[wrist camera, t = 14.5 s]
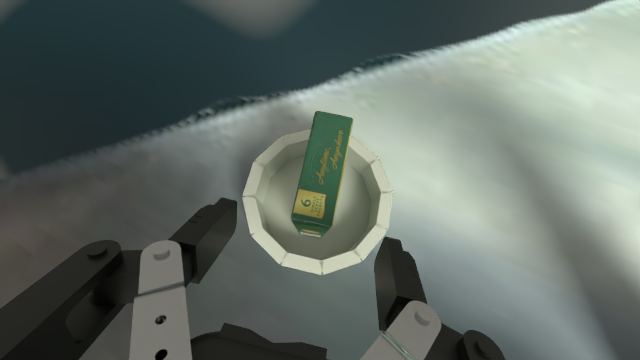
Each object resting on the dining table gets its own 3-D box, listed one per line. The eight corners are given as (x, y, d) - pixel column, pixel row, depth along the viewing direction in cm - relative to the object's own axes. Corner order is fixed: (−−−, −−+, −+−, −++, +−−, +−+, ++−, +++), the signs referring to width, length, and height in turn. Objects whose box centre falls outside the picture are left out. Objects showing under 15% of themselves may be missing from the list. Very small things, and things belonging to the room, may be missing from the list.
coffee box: (322, 242, 27) (333, 229, 14) (296, 236, 27) (286, 219, 14) (336, 174, 29) (356, 113, 17) (313, 169, 29) (315, 104, 17)
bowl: (385, 162, 31) (399, 145, 26) (367, 283, 27) (380, 288, 22) (274, 137, 32) (268, 116, 27) (238, 252, 27) (223, 251, 22)
